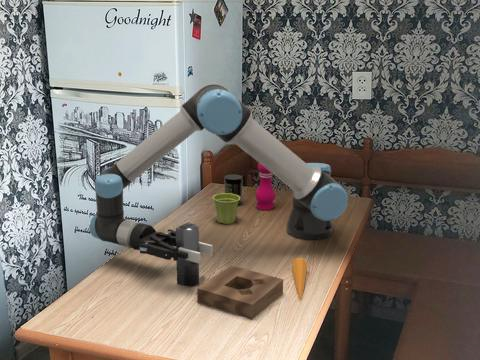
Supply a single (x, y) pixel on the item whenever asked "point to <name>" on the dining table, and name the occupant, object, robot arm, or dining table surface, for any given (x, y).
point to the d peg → (187, 269)
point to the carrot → (299, 274)
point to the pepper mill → (265, 190)
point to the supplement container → (233, 185)
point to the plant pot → (226, 207)
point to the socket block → (240, 291)
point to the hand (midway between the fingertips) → (205, 254)
